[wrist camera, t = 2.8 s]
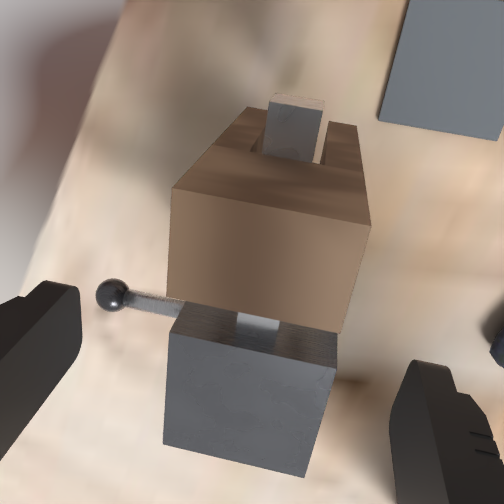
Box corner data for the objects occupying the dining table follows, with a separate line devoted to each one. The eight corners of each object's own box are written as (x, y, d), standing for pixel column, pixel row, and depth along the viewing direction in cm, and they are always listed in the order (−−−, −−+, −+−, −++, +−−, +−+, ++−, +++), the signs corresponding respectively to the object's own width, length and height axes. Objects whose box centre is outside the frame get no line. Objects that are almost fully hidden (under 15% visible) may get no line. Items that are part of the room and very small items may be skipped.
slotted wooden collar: (356, 126, 25) (371, 226, 13) (339, 194, 27) (340, 333, 15) (247, 106, 25) (172, 188, 14) (238, 175, 27) (166, 296, 16)
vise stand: (389, 74, 30) (437, 136, 16) (328, 305, 40) (322, 482, 25) (156, 35, 32) (-3, 59, 17) (150, 268, 41) (43, 415, 26)
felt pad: (547, 8, 27) (550, 7, 27) (495, 139, 31) (497, 141, 31) (412, -12, 28) (413, -13, 28) (377, 119, 32) (378, 120, 32)
